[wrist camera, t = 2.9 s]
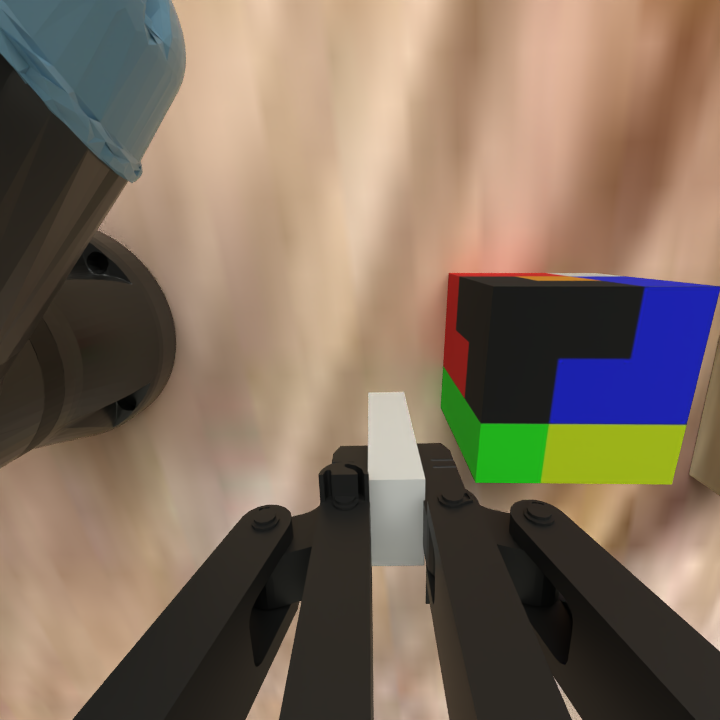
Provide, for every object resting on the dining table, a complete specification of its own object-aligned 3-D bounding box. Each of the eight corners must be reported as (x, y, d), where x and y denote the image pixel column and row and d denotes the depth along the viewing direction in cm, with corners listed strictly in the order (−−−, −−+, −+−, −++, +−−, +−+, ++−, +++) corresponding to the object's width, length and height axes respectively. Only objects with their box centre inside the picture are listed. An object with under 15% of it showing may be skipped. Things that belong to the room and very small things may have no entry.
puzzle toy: (594, 273, 27) (720, 286, 17) (572, 407, 30) (671, 484, 20) (448, 273, 27) (493, 286, 17) (440, 407, 30) (475, 482, 20)
